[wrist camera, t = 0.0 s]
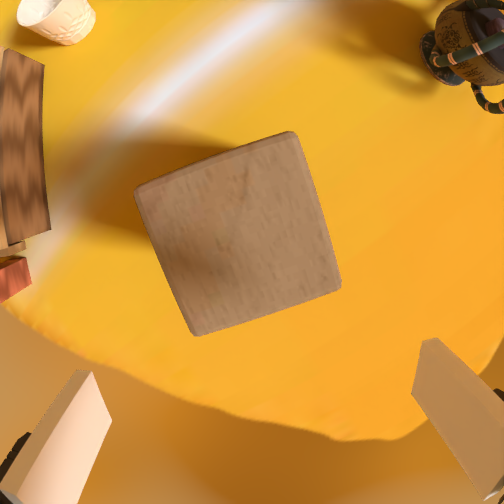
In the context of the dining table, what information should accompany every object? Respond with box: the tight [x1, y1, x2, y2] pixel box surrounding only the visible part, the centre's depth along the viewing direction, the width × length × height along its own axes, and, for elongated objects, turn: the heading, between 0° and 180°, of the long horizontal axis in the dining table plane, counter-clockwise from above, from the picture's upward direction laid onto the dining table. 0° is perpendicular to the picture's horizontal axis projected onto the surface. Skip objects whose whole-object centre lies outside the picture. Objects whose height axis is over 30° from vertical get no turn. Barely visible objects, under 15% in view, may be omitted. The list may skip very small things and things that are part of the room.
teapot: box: [419, 0, 504, 114], centre depth 21 cm, size 12×25×23 cm, turn 155°
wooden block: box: [134, 131, 342, 336], centre depth 27 cm, size 10×10×20 cm
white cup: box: [17, 0, 96, 46], centre depth 25 cm, size 8×8×10 cm
